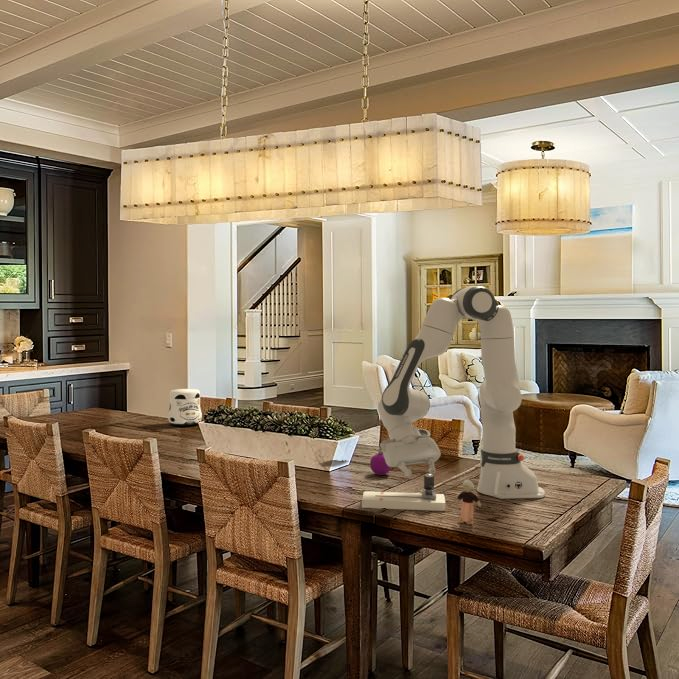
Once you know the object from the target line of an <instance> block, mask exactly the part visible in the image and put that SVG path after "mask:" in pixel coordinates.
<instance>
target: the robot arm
mask: <svg viewBox="0 0 679 679" xmlns="http://www.w3.org/2000/svg"><path fill="white" fill-rule="evenodd" d="M511 314H512V313H511V311H510V310H509V308H508V307H506V306H504V305H501V304H498V301H497V300H496V298H495V296H494V294H493V292H492V291H491V290H490V289H488V288H487V287H485V286H481V285H469V286H466V287H461V288H459V289H458V290H456V291H455V292H454V293H453V294H452V295H451V296H450V297H439V298H436V299H434V300H433V301H432V303H431V304H430V306H429V308H428V310H427V312H426V314H425V317H424V319H423V321H422V325H421V327H420V330H419V331H418V334H417V336H416V337H415V338H414V340H411V341H410V343H409V344H408V345H407V347H406V350H405V351H404V353H403V355H402V356H401V359H400V362H399V364H398V365H397V368H396V370H395V372H394V374H393V376H392V378H391V380H390V381H389V383H388V384H387V385H386V387H385V389H384V390H383V392H382V394H381V399H380V400H379V402H378V403H377V410H378V411H377V412H378V415H379V417H380V419H381V423H382V424H383V427H384V428H385V429H386V430H387V433H388V437H389V439H385V440H382V441H381V442H380V443H379V447H380V449H382V451H383V455H384V458H385V461H386V464H387V465H388V466H389V467H391V468H394V467H397V468H398V469H399V470H400V471H402V472H403V473H404V475H405V477H407V478H408V477H411V476H412V475H413V472H412V470H411V468H407V466H411V465H418V464H424V463H426V464H428V467H429V468H427V470H428V472H429V474H435V473H436V471H437V470H436V467H435V462H437V461H438V460H439V459H440V457H441V454H442V453H441V450H440V448H439V446H438V445H437V443H436V441H435V439H433V438H432V437H430V436H431V432H430V431H429V430H427V429H422V428H418V427H415V426H414V425H413V423H415V422H417V421H420V420H421V419H422V418H424V417H425V416H427V414H428V413H429V410H430V407H431V403H430V398H429V396H428V394H427V393H425V392H424V391H422V390H419V389H415V388H411V387H410V384H411V383H412V380H413V379H414V377H415V374H416V372H417V371H418V368H419V366H420V365H421V363H423V362H424V361H425V360H428V359H430V358H435V357H439V356H442V355H443V354H445V353H446V352H447V351H448V349H449V348H450V347H451V344H452V342H453V338H454V335H455V332H456V329H457V327H458V324H459V323H460V321H461V320H464V319H466V320H476V321H477V323H478V325H479V329H480V352H481V353H480V354H481V363H482V364H481V365H482V367H483V373H484V378H485V379H484V380H483V381H482V382H481V384H480V385H479V398H480V399H479V402H480V414H481V415H480V416H481V423H482V426H481V427H482V435H481V436H482V442H481V444H482V446H481V447H482V448H481V450H480V457H479V458H480V466H481V467H480V474H479V479H478V484H477V487H476V492H479V493H480V494H482V495H487V496H491V497H493V498H497V499H502V500H504V499H542V498H544V497H545V496H546V492H545V490H544V489H543V488H542V487H540V486H539V483H538V478H537V476H536V474H535V473H534V472H533V471H532V470H531V469H530V468H528V467H527V466H526V465H525V464H524V463H522V462H523V461H524V460H525V456H524V455H523V454H522V453H520V452H519V451H517V450H516V439H517V438H516V432H517V431H516V430H517V428H516V424H515V420H514V419H515V418H514V411H516V410H518V408H519V407H520V406H521V404H522V401H523V399H522V398H523V396H522V393H521V388H520V382H519V381H520V380H519V374H518V369H517V366H516V358H515V356H516V352H515V335H514V333H515V332H514V325H513V324H514V323H513V319H512V316H511Z"/></svg>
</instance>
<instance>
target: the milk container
mask: <svg viewBox="0 0 679 679" xmlns="http://www.w3.org/2000/svg"><path fill="white" fill-rule="evenodd" d="M202 418H203V414H202V409H201V391H200V390H199V389H196V388H178V389H171V390H170V391H169V410H168V413H167V419H168V423H169V424H171V425H173V426H180V427H186V426H196V425H198V424H199V423H198V422H199V421H200V422H201V421H202Z"/></svg>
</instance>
